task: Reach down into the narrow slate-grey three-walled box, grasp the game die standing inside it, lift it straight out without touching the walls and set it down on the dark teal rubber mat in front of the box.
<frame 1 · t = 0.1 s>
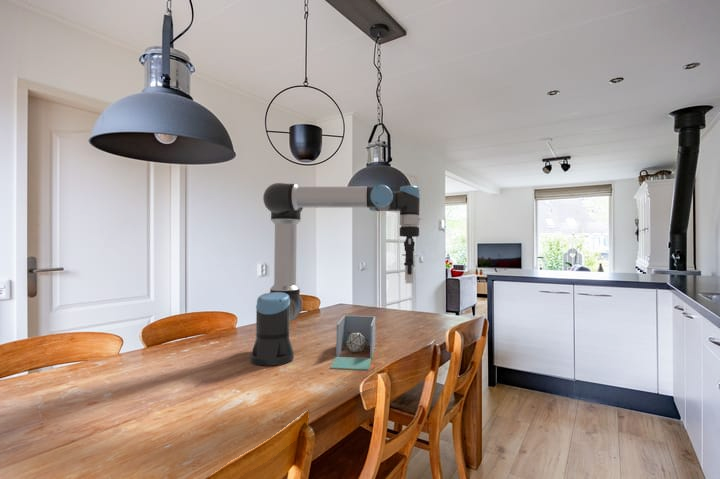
hand: (408, 281, 143), 28 cm above the table, fingers open, 13 cm apart
game die: (356, 353, 144), on the table
slot box: (356, 350, 146), on the table
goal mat: (351, 363, 130), on the table
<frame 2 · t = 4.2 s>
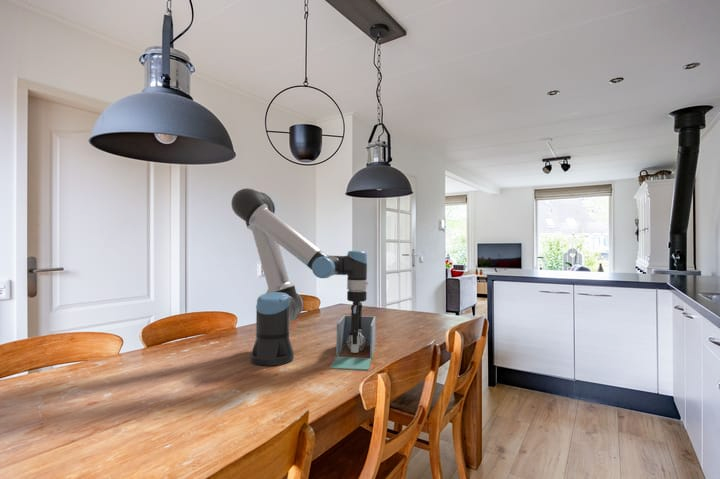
hand: (356, 348, 144), 1 cm above the table, fingers closed on game die, 8 cm apart
game die: (356, 352, 144), on the table, touching gripper
when the fingers open (2 cm above the table, at t = 9.8 s): game die stays where it is, resting on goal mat.
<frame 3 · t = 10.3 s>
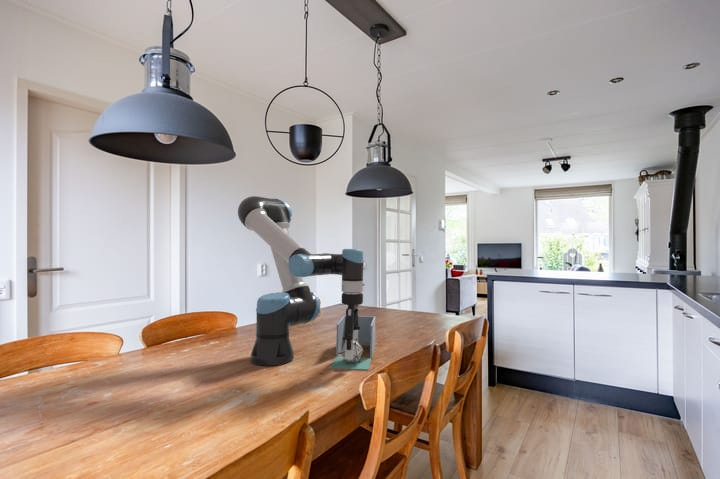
hand: (351, 353, 130), 4 cm above the table, fingers open, 13 cm apart
game die: (351, 363, 130), resting on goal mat
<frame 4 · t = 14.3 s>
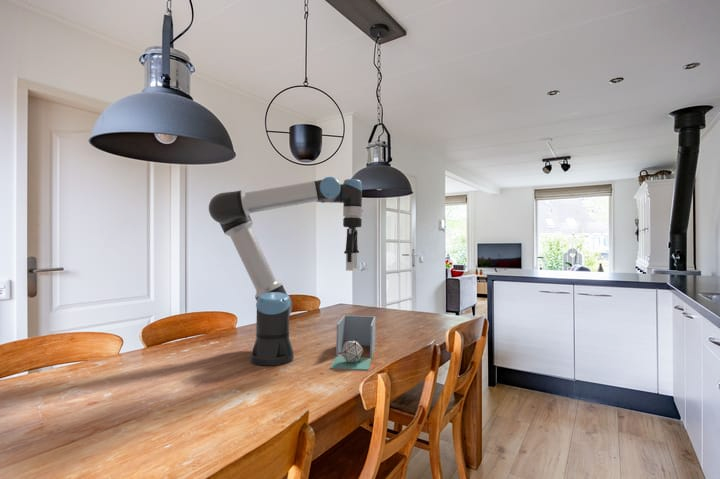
hand: (351, 269, 152), 32 cm above the table, fingers open, 13 cm apart
nothing on the table moved.
at the end: game die inside the target area on the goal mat (0.1 cm from its centre), point 0.2 cm above the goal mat's base; game die tilted 1°; the gripper is holding nothing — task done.
